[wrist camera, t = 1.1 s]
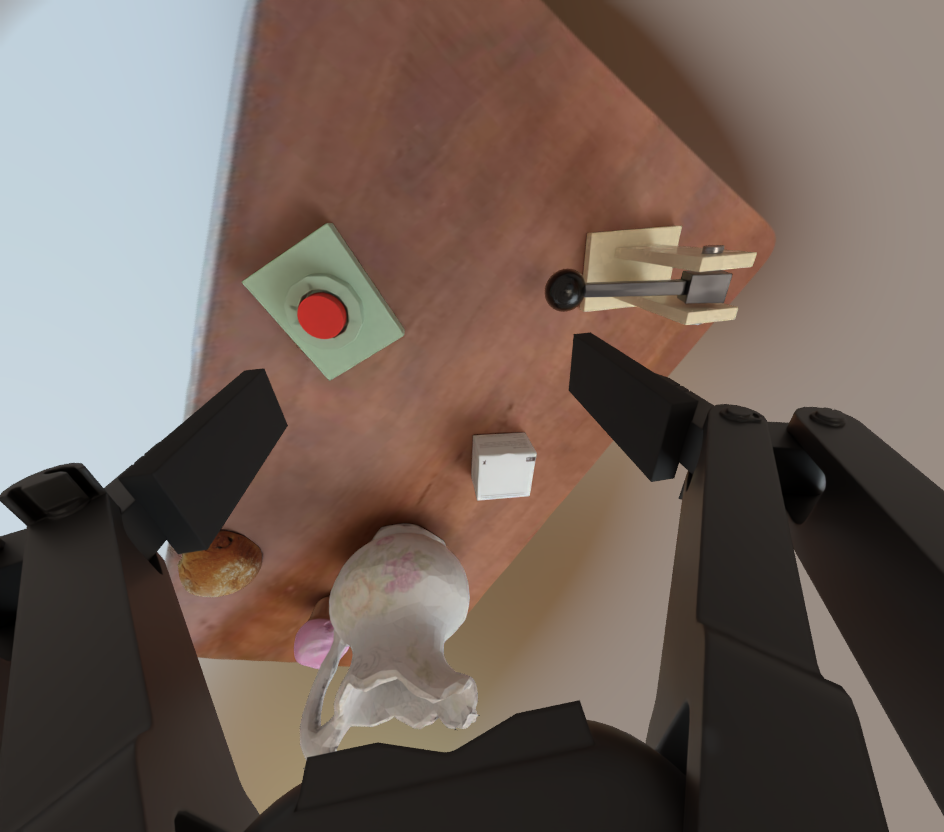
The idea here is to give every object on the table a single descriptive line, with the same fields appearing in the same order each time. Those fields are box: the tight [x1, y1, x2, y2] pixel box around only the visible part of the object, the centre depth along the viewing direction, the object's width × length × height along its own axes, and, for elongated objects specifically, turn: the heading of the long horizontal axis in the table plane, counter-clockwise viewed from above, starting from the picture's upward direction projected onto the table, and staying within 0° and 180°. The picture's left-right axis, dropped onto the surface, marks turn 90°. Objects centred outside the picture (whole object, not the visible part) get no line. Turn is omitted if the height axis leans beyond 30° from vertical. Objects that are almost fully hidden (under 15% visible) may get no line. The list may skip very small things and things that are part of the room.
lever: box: [545, 269, 733, 312], centre depth 29 cm, size 14×4×4 cm, turn 94°
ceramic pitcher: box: [300, 524, 479, 769], centre depth 45 cm, size 22×20×25 cm
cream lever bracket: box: [580, 226, 757, 325], centre depth 32 cm, size 10×8×14 cm
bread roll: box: [178, 531, 262, 597], centre depth 49 cm, size 10×10×8 cm
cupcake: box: [294, 597, 349, 669], centre depth 56 cm, size 9×9×10 cm
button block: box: [242, 223, 405, 381], centre depth 34 cm, size 12×10×4 cm
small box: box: [471, 432, 537, 500], centre depth 46 cm, size 8×8×5 cm
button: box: [297, 292, 347, 339], centre depth 32 cm, size 4×4×2 cm
